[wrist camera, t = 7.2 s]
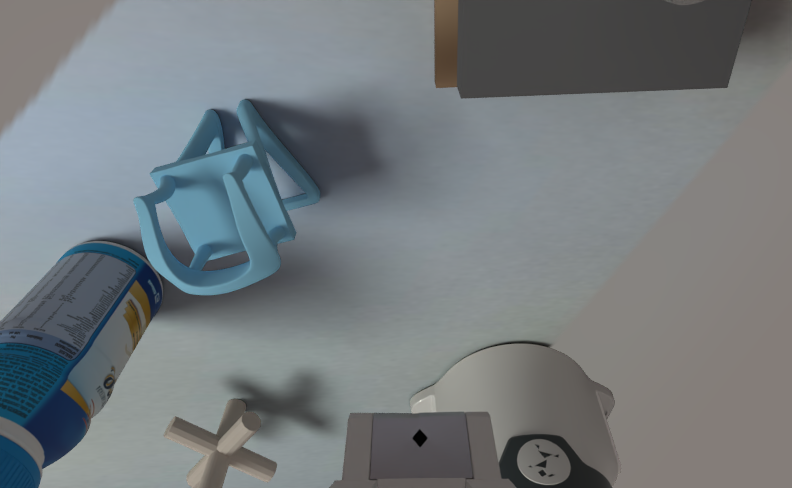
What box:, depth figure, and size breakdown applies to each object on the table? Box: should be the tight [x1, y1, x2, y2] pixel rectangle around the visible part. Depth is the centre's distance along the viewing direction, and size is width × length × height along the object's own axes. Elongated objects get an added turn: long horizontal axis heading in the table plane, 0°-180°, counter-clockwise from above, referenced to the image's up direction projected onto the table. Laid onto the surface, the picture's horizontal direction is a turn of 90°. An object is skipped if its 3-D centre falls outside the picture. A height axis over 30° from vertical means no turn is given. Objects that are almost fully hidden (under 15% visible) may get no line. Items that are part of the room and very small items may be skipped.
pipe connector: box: [164, 399, 277, 488], centre depth 48 cm, size 10×10×10 cm
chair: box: [134, 100, 320, 295], centre depth 34 cm, size 8×8×12 cm
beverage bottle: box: [0, 241, 163, 488], centre depth 36 cm, size 8×8×20 cm
